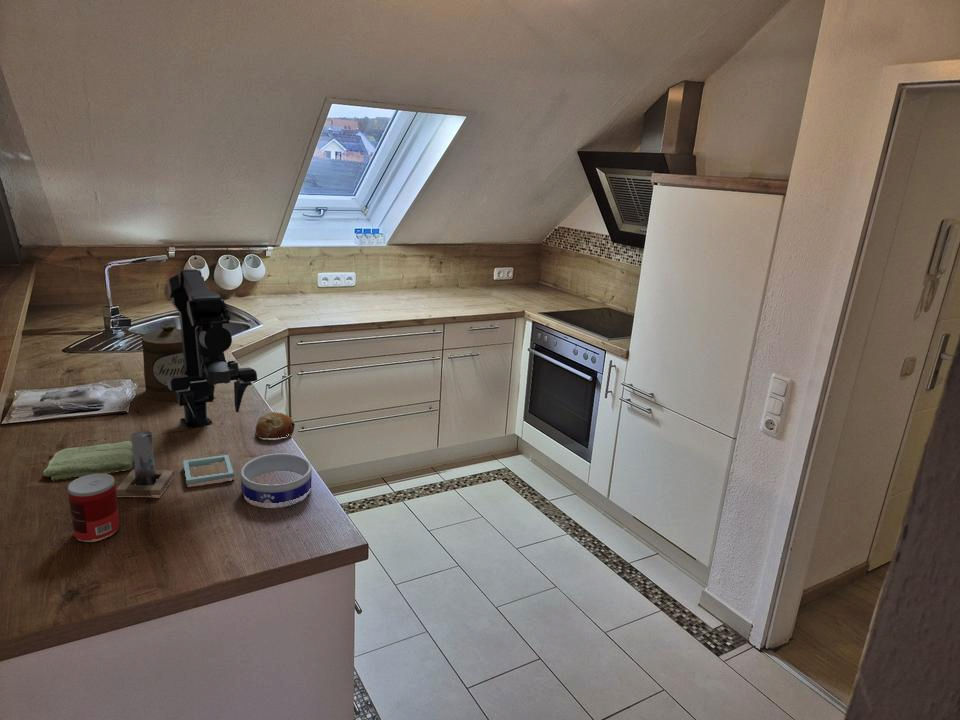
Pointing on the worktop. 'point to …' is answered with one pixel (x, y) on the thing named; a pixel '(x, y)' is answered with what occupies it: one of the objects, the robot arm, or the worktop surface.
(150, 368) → the wooden container
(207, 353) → the robot arm
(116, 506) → the canned food
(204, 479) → the cradle tray
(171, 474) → the walnut collar
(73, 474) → the washcloth
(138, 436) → the steel pin
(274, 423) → the bread roll
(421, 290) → the worktop surface
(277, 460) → the dog bowl
